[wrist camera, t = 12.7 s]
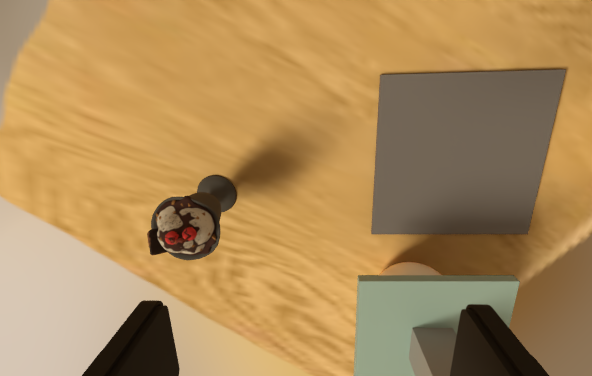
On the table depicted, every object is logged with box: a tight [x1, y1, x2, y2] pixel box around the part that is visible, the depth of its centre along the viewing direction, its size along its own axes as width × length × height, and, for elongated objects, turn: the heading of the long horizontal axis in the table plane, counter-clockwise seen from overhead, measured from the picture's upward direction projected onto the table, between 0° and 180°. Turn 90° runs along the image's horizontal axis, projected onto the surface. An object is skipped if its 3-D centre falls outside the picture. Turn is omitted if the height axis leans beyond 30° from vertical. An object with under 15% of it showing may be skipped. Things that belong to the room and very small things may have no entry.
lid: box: [354, 275, 520, 376], centre depth 29 cm, size 15×15×8 cm
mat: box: [371, 69, 566, 234], centre depth 36 cm, size 19×19×1 cm
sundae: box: [147, 175, 236, 260], centre depth 32 cm, size 7×7×15 cm
